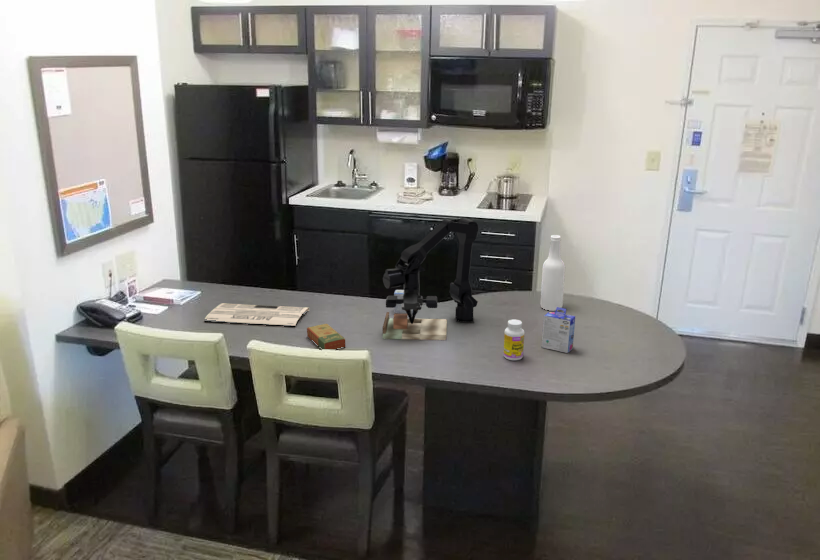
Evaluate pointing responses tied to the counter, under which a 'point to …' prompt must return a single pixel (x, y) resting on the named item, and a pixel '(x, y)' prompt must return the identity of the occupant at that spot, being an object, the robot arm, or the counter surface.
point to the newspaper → (257, 314)
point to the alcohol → (553, 277)
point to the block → (400, 321)
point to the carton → (325, 337)
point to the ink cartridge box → (558, 331)
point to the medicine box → (399, 306)
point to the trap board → (416, 329)
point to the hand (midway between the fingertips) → (412, 323)
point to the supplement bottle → (513, 340)
